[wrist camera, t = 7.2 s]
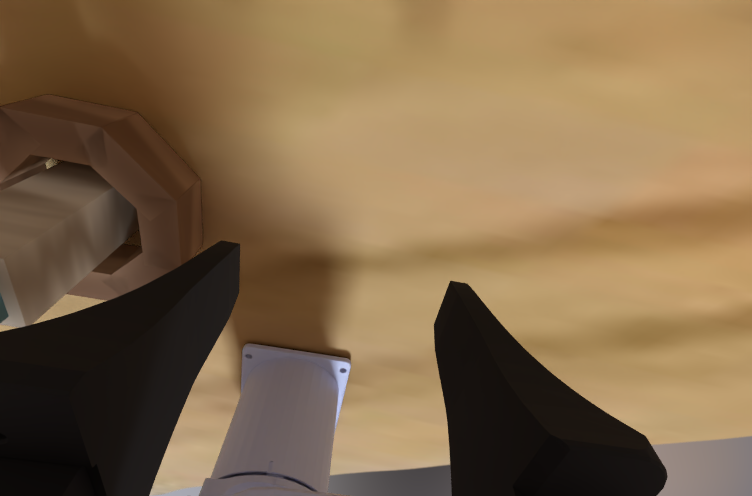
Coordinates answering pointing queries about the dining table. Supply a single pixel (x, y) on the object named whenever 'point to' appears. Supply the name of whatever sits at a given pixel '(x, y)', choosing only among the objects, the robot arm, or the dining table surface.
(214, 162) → the dining table surface
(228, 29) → the dining table surface
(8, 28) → the dining table surface
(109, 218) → the brown and teal block
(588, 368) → the dining table surface
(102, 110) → the brown faceted ring
